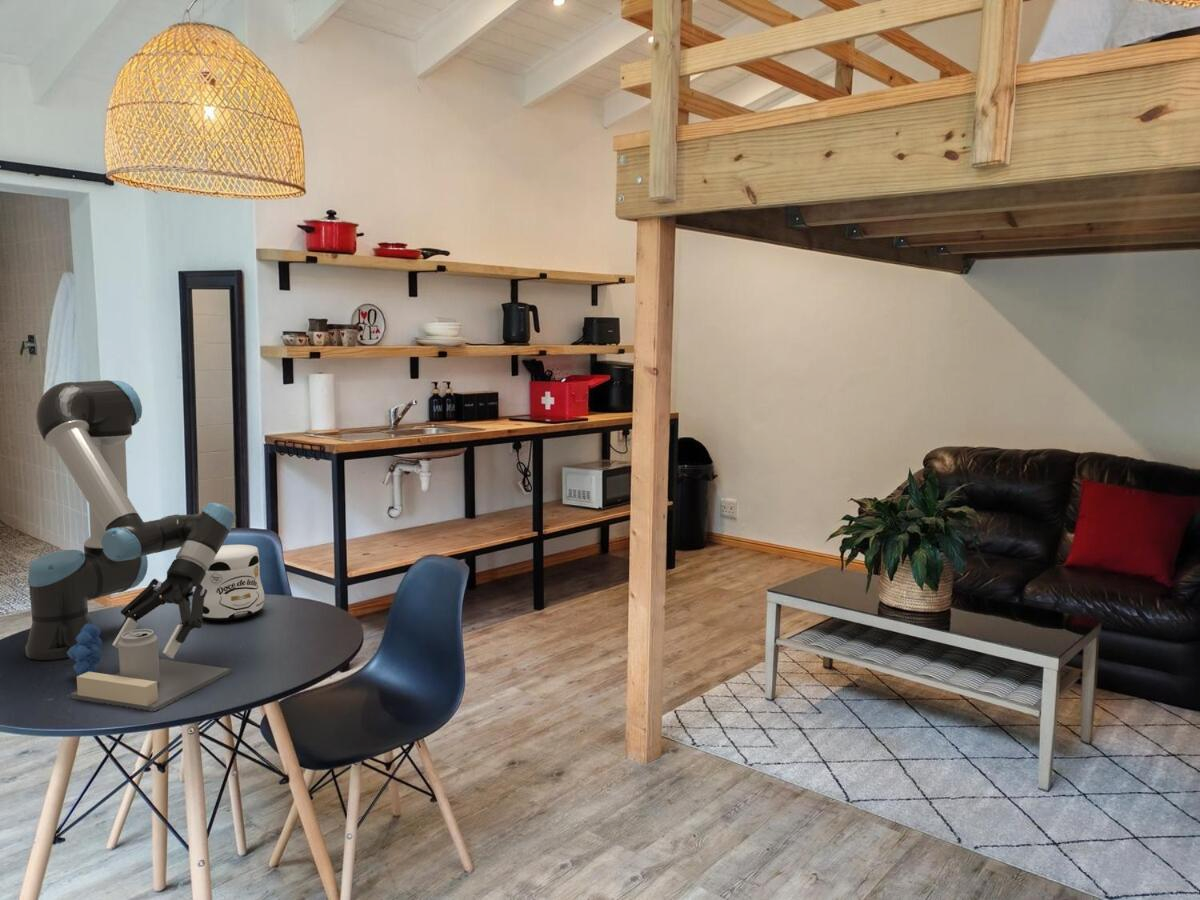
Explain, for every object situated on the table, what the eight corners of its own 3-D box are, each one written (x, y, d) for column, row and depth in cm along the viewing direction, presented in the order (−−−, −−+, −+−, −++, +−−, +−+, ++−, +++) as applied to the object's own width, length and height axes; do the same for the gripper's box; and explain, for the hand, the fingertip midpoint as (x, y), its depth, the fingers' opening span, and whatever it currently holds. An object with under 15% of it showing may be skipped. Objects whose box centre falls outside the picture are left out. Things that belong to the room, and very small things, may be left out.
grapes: (78, 668, 202) (74, 618, 200) (110, 666, 203) (107, 616, 202) (58, 688, 190) (54, 634, 189) (92, 686, 192) (88, 632, 190)
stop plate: (70, 698, 185) (69, 675, 184) (152, 662, 206) (151, 641, 205) (154, 711, 179) (153, 688, 178) (230, 672, 199) (229, 651, 199)
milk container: (240, 627, 231) (237, 560, 229) (182, 622, 235) (178, 556, 232) (277, 607, 248) (274, 545, 246) (222, 603, 251) (219, 542, 249)
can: (149, 693, 185) (145, 638, 184) (113, 693, 185) (110, 638, 184) (166, 680, 193) (163, 627, 191) (132, 679, 193) (129, 626, 191)
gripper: (244, 579, 199) (199, 666, 187) (157, 568, 207) (108, 651, 195) (226, 562, 193) (178, 651, 181) (137, 552, 201) (85, 636, 189)
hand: (142, 651), depth 188 cm, fingers open, 13 cm apart
